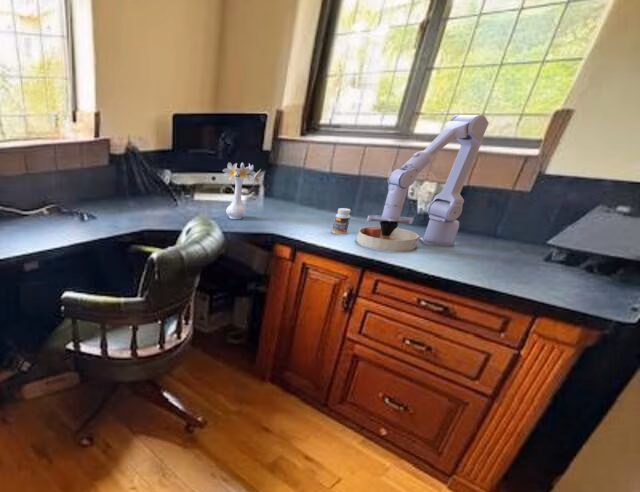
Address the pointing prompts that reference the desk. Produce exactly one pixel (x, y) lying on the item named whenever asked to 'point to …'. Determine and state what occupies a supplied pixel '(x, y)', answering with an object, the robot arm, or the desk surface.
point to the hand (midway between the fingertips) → (383, 241)
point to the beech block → (387, 237)
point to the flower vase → (239, 187)
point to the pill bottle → (341, 221)
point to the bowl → (401, 243)
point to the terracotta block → (373, 231)
